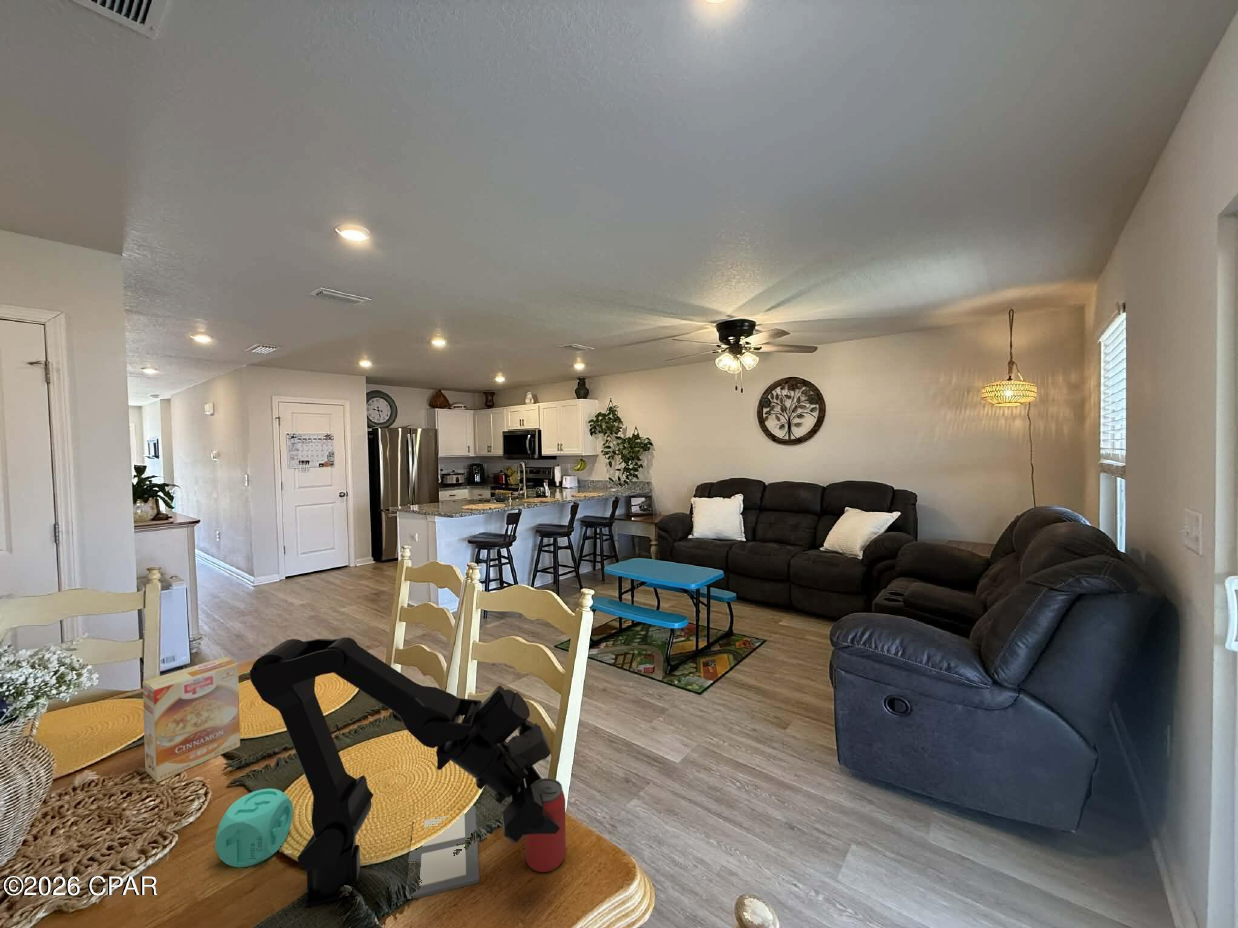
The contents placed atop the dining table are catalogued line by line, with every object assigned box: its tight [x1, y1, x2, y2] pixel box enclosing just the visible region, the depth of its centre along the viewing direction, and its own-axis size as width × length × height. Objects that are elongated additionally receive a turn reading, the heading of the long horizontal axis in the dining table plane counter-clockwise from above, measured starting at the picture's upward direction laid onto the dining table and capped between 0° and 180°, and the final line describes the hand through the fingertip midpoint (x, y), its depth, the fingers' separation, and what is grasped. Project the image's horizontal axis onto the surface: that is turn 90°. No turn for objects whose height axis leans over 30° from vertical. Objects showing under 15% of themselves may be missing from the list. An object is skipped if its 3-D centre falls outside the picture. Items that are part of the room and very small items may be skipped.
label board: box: [407, 805, 480, 899], centre depth 87 cm, size 11×17×1 cm, turn 18°
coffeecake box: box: [142, 656, 241, 783], centre depth 111 cm, size 15×7×20 cm, turn 148°
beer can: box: [525, 777, 566, 873], centre depth 85 cm, size 7×7×12 cm
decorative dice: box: [214, 788, 294, 868], centre depth 87 cm, size 8×8×8 cm
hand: (552, 810), depth 85 cm, fingers open, 9 cm apart
